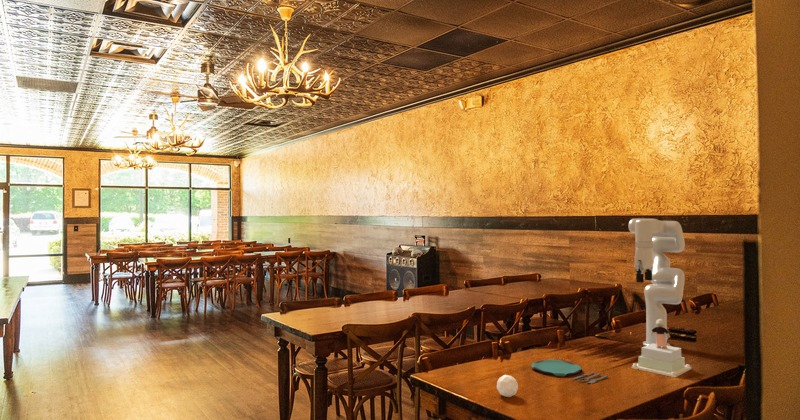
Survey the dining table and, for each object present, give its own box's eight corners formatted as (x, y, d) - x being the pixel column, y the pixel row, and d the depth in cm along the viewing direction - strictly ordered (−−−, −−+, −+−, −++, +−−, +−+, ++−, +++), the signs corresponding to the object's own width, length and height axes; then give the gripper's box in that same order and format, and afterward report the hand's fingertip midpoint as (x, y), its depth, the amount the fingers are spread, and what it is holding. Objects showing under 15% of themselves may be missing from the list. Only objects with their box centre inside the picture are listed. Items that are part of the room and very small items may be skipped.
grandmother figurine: (669, 347, 229) (669, 318, 229) (670, 349, 225) (670, 320, 226) (650, 345, 232) (650, 317, 232) (650, 347, 228) (650, 318, 229)
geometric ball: (502, 404, 192) (489, 386, 193) (509, 390, 199) (496, 373, 199) (518, 398, 188) (504, 380, 188) (525, 384, 194) (511, 367, 194)
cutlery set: (551, 361, 240) (551, 356, 240) (612, 378, 216) (612, 373, 216) (523, 369, 228) (523, 364, 228) (583, 389, 204) (583, 383, 204)
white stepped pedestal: (649, 360, 241) (648, 340, 241) (691, 369, 228) (691, 348, 228) (631, 368, 229) (631, 347, 229) (675, 377, 216) (675, 355, 216)
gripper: (643, 243, 257) (643, 278, 257) (628, 246, 245) (628, 282, 245) (659, 244, 252) (659, 280, 252) (644, 246, 240) (644, 284, 240)
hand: (644, 281), depth 249 cm, fingers open, 9 cm apart
